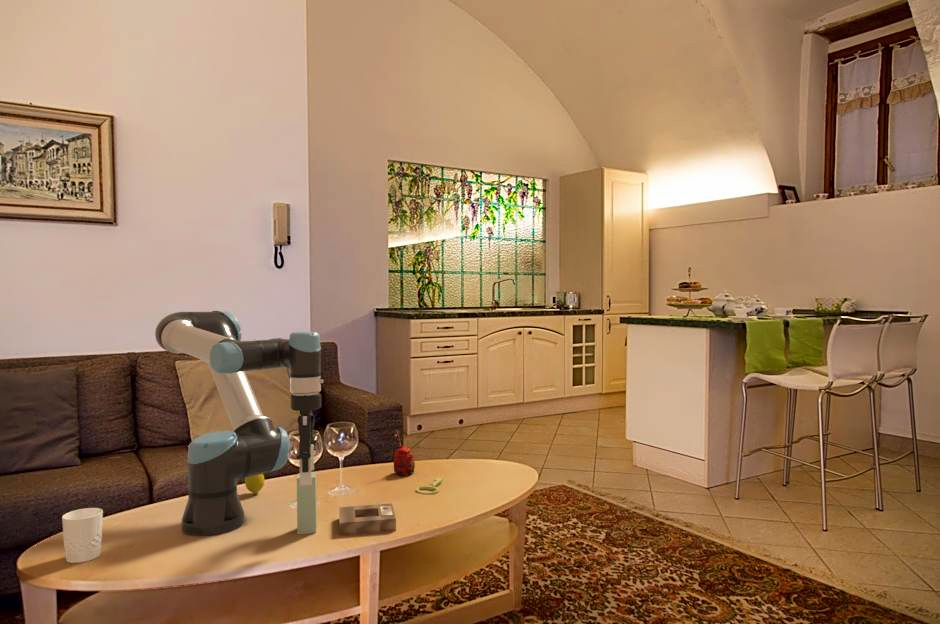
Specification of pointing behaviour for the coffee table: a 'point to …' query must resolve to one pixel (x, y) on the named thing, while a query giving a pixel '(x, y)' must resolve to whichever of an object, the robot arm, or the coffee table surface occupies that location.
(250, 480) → the fruit
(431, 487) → the key
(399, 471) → the red clay folk toy
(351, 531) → the socket block
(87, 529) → the white cup
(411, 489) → the coffee table surface
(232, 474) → the robot arm
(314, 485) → the sage peg
